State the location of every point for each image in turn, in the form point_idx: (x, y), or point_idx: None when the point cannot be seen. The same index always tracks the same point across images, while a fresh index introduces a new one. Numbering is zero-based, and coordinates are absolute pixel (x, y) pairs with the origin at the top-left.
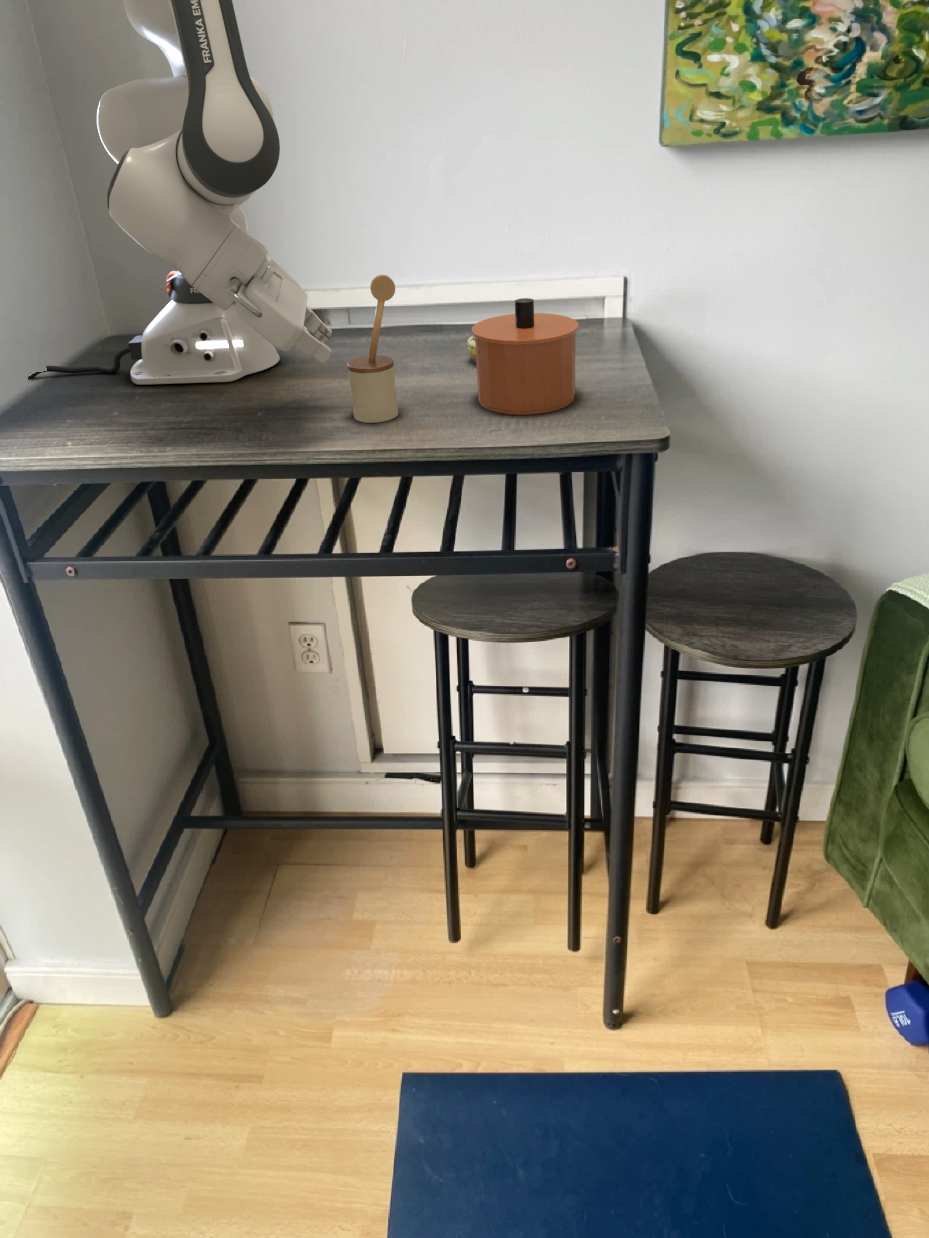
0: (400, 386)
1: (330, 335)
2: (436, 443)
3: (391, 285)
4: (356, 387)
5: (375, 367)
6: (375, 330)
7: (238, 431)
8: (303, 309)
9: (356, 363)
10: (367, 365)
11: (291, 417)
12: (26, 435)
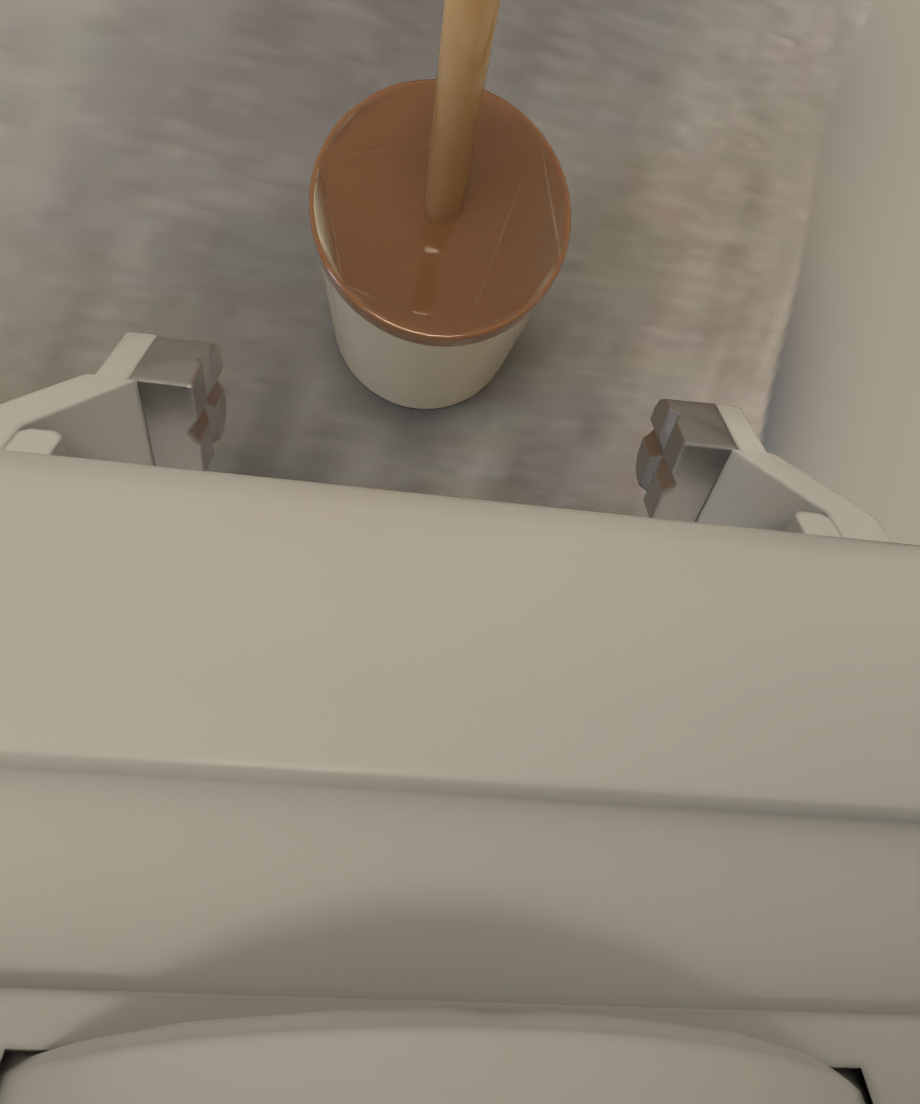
0: (61, 148)
1: (215, 356)
2: (790, 173)
3: None
4: (505, 346)
5: (564, 201)
6: (492, 29)
7: None
8: (492, 512)
9: (444, 286)
10: (507, 235)
11: None
12: None
